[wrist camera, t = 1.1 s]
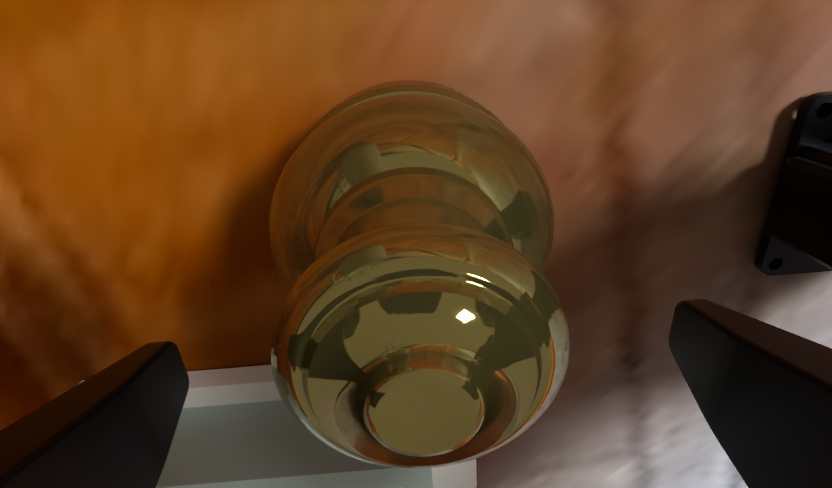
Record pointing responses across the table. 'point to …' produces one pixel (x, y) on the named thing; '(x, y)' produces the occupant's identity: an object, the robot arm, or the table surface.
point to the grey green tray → (271, 443)
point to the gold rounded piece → (415, 280)
